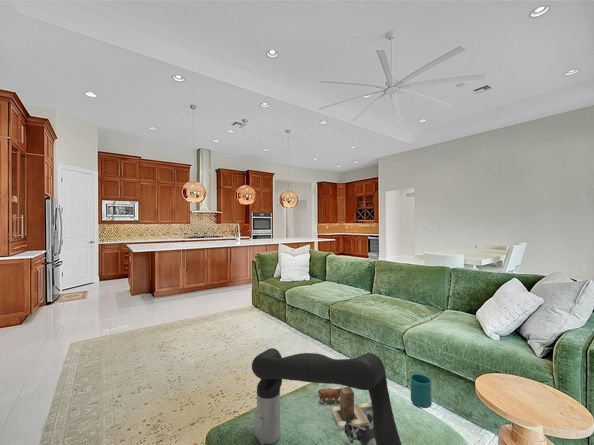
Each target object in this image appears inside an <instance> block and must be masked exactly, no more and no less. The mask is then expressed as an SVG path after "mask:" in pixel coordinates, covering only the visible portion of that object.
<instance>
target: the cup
mask: <svg viewBox="0 0 594 445" xmlns="http://www.w3.org/2000/svg"><path fill="white" fill-rule="evenodd" d="M432 390H433V389H432V379H431V378H430V377H429V376H427V375H425V374H421V373H413V374H411V375H410V401H411V403H412V404H413V405H414V406H415V407H418V408H421V409H429V408H431V407H432V405H433V404H432V402H433V399H432V398H433V397H432Z"/></svg>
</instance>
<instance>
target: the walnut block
mask: <svg viewBox="0 0 594 445" xmlns="http://www.w3.org/2000/svg"><path fill="white" fill-rule="evenodd" d="M341 387H342V388H340V398H339V400H340V404H339V406H340V416H341V418H342V420H343V421H346V417H349V418H350V420H354V405H355V391H354V390H353V388H352V387H348V386H341Z"/></svg>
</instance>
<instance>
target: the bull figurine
mask: <svg viewBox="0 0 594 445" xmlns="http://www.w3.org/2000/svg"><path fill="white" fill-rule="evenodd" d="M342 387H343V386H336V387H329V388H321V389H319V390H318V392H317V394H318V396H319V401H320V402H321V404H324V405H327V402H326V399H328V401H330V400H333V399H334V404H335V405H337V402H338V401H339V399H340V388H342Z"/></svg>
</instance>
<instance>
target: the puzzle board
mask: <svg viewBox="0 0 594 445" xmlns="http://www.w3.org/2000/svg"><path fill="white" fill-rule="evenodd" d="M330 412H331V414H332V417H333V419H334V421H335V423H336V426H337V428H338V430H339V431H342V430H343V431H345V424H346V421H343V420H342V418H341V416H340V405H338V406H332V407H330ZM367 414H370V415H371V416H372V417H373V412H372V403H371V402H364V403H357V404H356V403H354V420H351V422H352V424H354V425H355V424H357V425H359V426H366V425H368V426H370V422H369V421H368V419H367ZM352 429H354V428H353V427H352Z"/></svg>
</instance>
